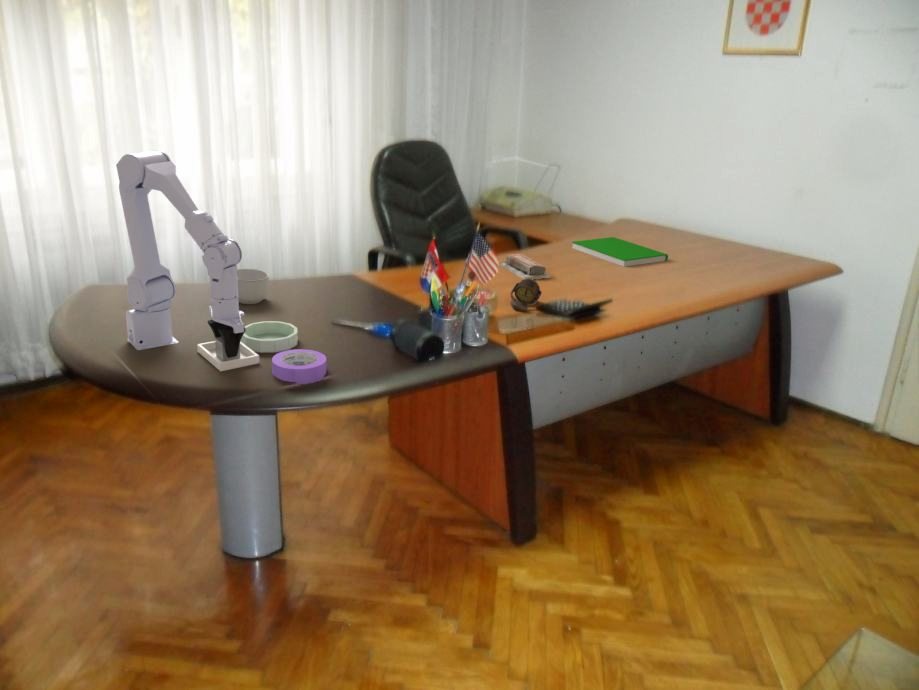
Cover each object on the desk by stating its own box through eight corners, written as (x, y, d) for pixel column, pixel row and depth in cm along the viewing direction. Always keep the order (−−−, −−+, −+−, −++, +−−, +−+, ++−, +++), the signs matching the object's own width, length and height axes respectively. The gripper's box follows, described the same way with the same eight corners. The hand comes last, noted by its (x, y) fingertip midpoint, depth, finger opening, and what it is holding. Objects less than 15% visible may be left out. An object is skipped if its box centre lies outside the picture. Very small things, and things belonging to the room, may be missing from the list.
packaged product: (500, 253, 258) (526, 251, 262) (499, 266, 260) (525, 265, 264) (526, 267, 243) (552, 265, 247) (524, 281, 245) (551, 279, 249)
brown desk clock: (553, 287, 221) (528, 272, 226) (528, 292, 211) (502, 276, 216) (545, 309, 224) (520, 294, 229) (520, 314, 214) (494, 298, 219)
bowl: (256, 358, 173) (255, 344, 172) (232, 340, 182) (232, 327, 181) (307, 347, 181) (307, 334, 179) (282, 331, 190) (282, 318, 189)
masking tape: (288, 360, 173) (288, 345, 172) (335, 369, 171) (335, 353, 169) (262, 380, 163) (261, 363, 162) (311, 389, 160) (311, 372, 159)
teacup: (254, 292, 217) (253, 265, 214) (278, 301, 211) (277, 274, 208) (211, 302, 207) (210, 274, 204) (235, 312, 201) (234, 283, 198)
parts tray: (220, 373, 164) (219, 363, 163) (198, 354, 173) (197, 344, 173) (259, 365, 169) (259, 355, 169) (235, 346, 179) (235, 337, 178)
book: (623, 268, 268) (624, 260, 267) (571, 249, 290) (571, 241, 289) (667, 262, 280) (668, 254, 279) (613, 244, 302) (614, 236, 300)
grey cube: (223, 361, 169) (222, 343, 167) (216, 356, 171) (215, 337, 170) (240, 358, 171) (239, 340, 169) (233, 352, 174) (232, 334, 172)
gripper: (256, 302, 163) (258, 360, 168) (228, 284, 173) (231, 339, 178) (224, 307, 159) (228, 366, 164) (198, 288, 169) (202, 345, 174)
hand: (228, 353), depth 171 cm, fingers closed on grey cube, 4 cm apart
